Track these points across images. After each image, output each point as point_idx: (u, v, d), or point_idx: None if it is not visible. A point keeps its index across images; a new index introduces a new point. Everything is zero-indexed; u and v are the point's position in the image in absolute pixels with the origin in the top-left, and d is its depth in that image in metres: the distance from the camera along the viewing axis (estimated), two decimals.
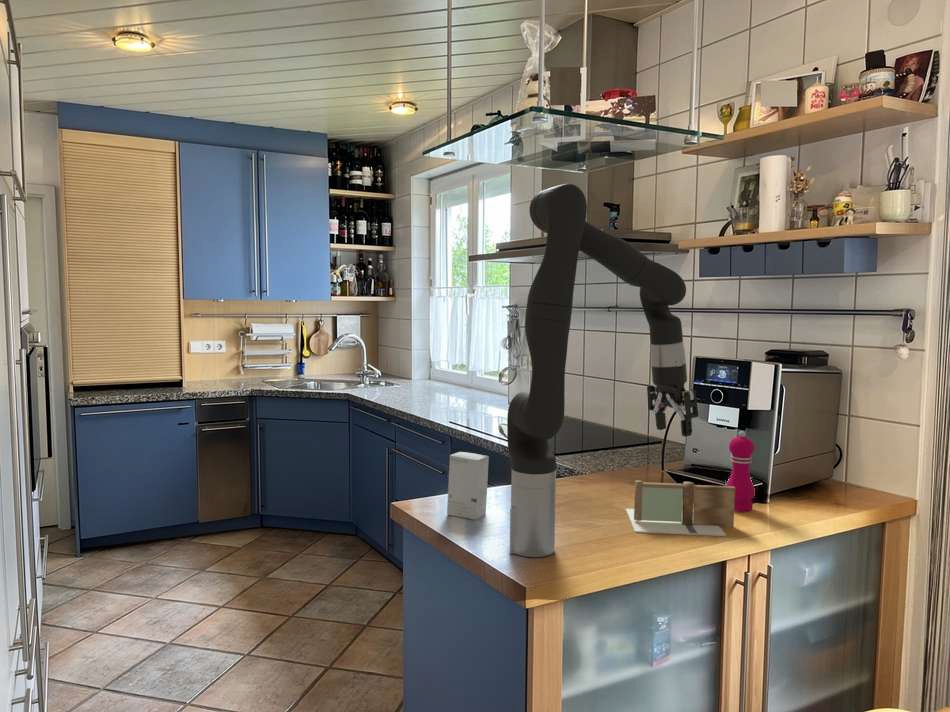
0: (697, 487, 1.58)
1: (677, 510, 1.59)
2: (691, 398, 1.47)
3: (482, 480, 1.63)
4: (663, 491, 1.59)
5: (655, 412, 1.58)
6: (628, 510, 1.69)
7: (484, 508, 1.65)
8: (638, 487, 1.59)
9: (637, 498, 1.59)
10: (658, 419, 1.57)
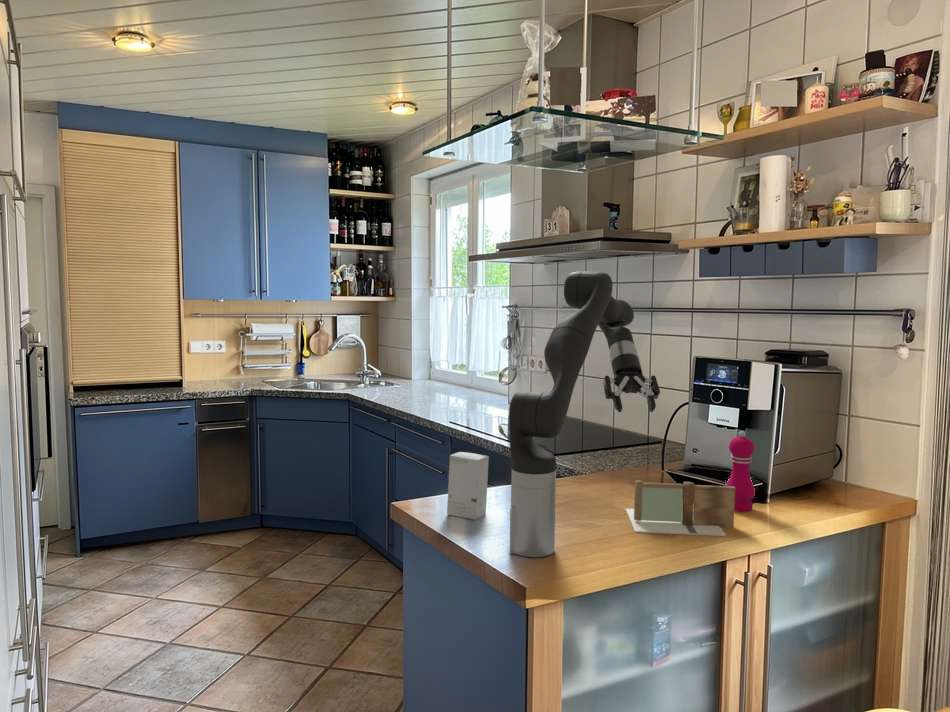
0: (697, 487, 1.58)
1: (677, 510, 1.59)
2: None
3: (482, 480, 1.63)
4: (663, 491, 1.59)
5: (617, 394, 1.76)
6: (628, 510, 1.69)
7: (484, 508, 1.65)
8: (638, 487, 1.59)
9: (637, 498, 1.59)
10: (620, 400, 1.75)
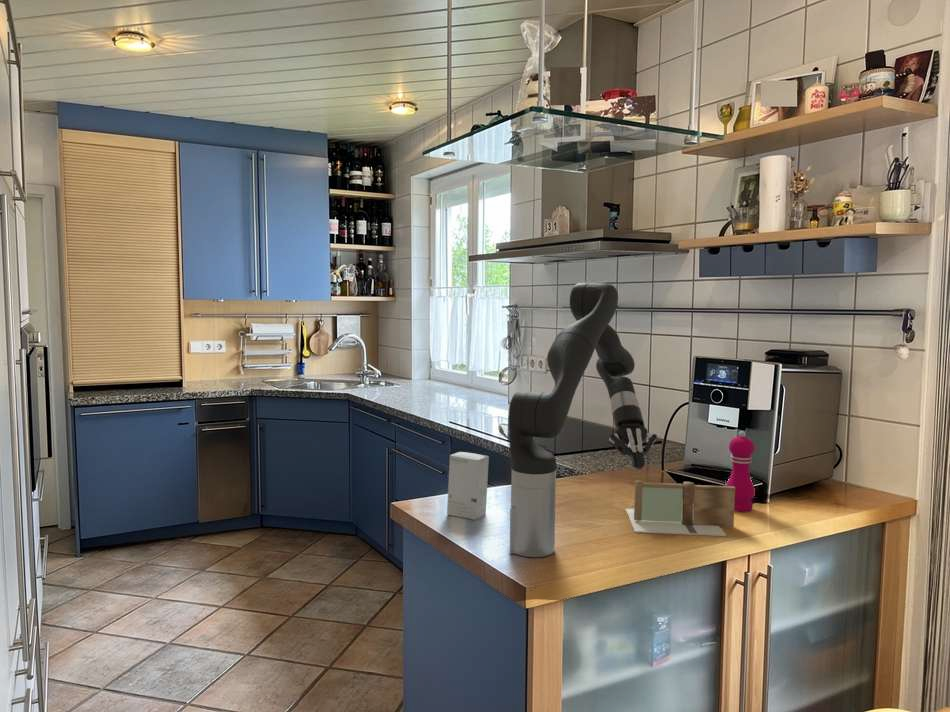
0: (697, 487, 1.58)
1: (677, 510, 1.59)
2: None
3: (482, 480, 1.63)
4: (663, 491, 1.59)
5: (635, 450, 1.73)
6: (628, 510, 1.69)
7: (484, 508, 1.65)
8: (638, 487, 1.59)
9: (637, 498, 1.59)
10: (638, 457, 1.72)
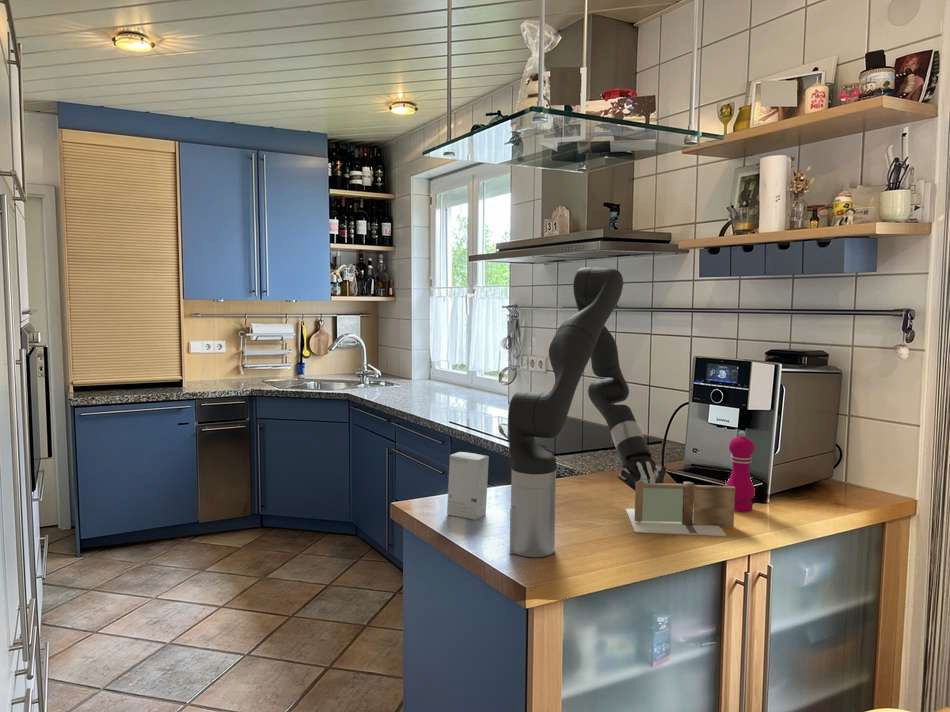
0: (697, 487, 1.58)
1: (677, 511, 1.59)
2: None
3: (482, 480, 1.63)
4: (664, 491, 1.58)
5: None
6: (628, 510, 1.69)
7: (484, 508, 1.65)
8: (639, 488, 1.58)
9: (638, 499, 1.58)
10: None
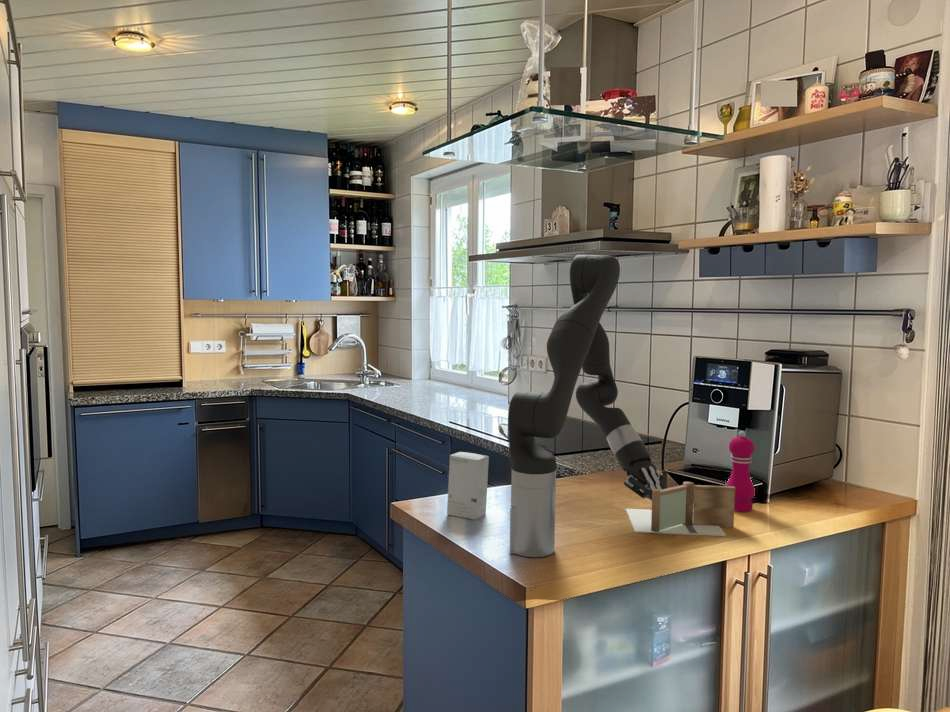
0: (697, 487, 1.58)
1: (682, 512, 1.57)
2: None
3: (482, 480, 1.63)
4: (674, 495, 1.55)
5: None
6: (628, 510, 1.69)
7: (484, 508, 1.65)
8: (658, 496, 1.51)
9: (657, 508, 1.51)
10: None
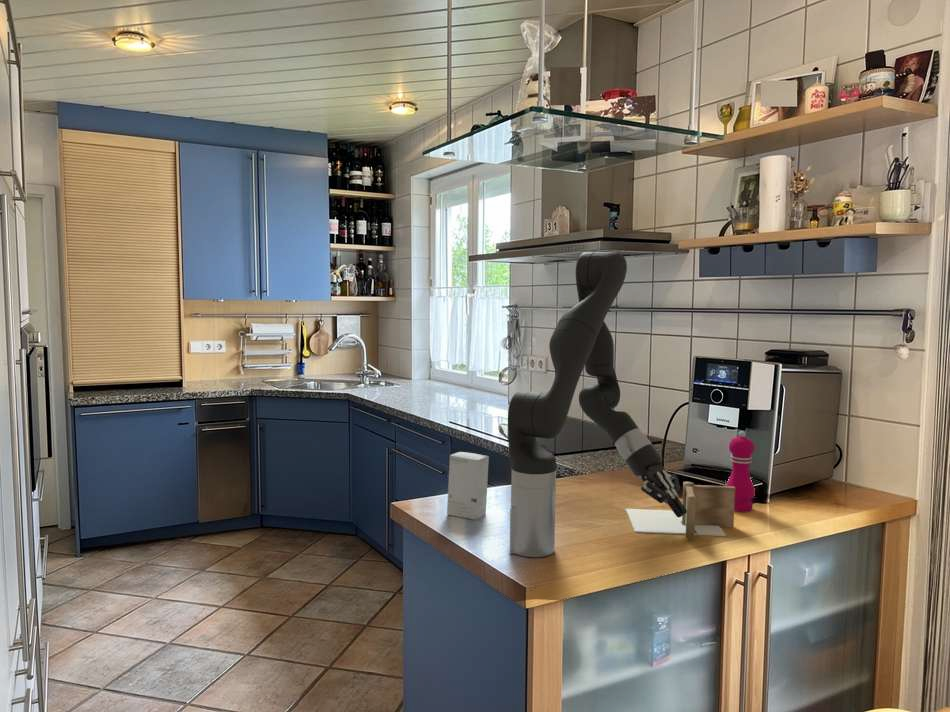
0: (697, 487, 1.58)
1: None
2: None
3: (482, 480, 1.63)
4: None
5: (673, 496, 1.54)
6: (628, 510, 1.69)
7: (484, 508, 1.65)
8: (695, 502, 1.47)
9: (694, 514, 1.47)
10: None
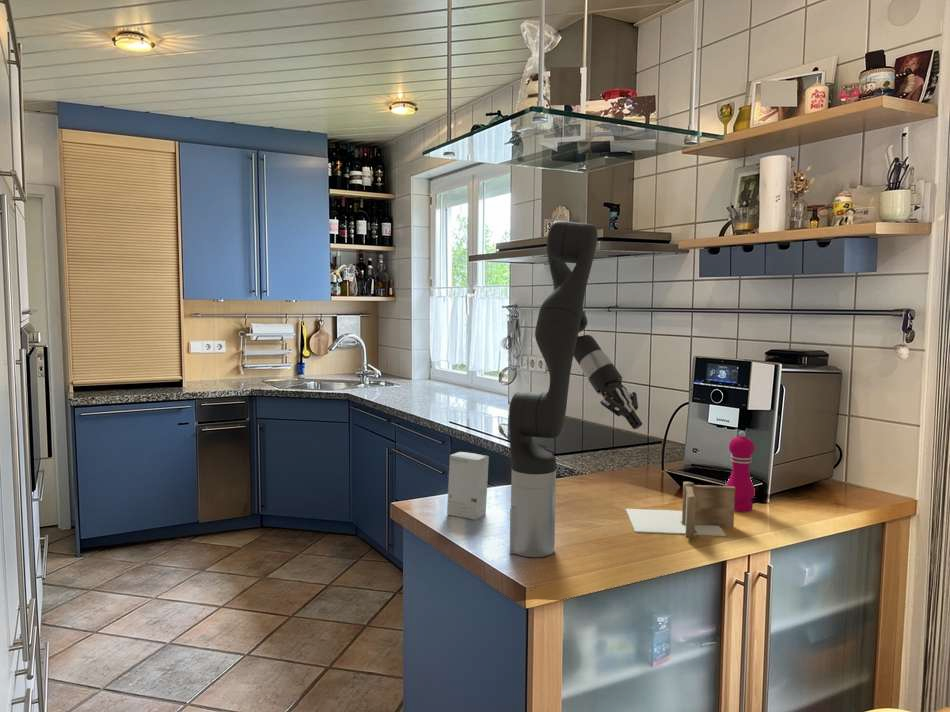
0: (697, 487, 1.58)
1: None
2: None
3: (482, 480, 1.63)
4: None
5: (630, 410, 1.67)
6: (628, 510, 1.69)
7: (484, 508, 1.65)
8: (695, 502, 1.47)
9: (694, 514, 1.47)
10: None
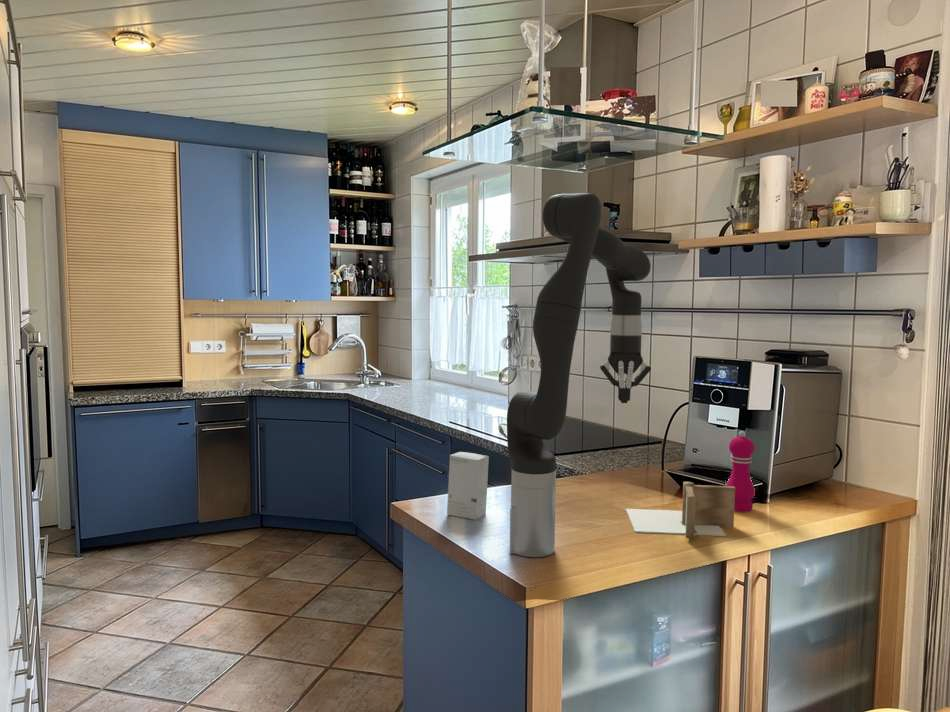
0: (697, 487, 1.58)
1: None
2: None
3: (482, 480, 1.63)
4: None
5: (622, 386, 1.68)
6: (628, 510, 1.69)
7: (484, 508, 1.65)
8: (695, 502, 1.47)
9: (694, 514, 1.47)
10: (624, 393, 1.68)
